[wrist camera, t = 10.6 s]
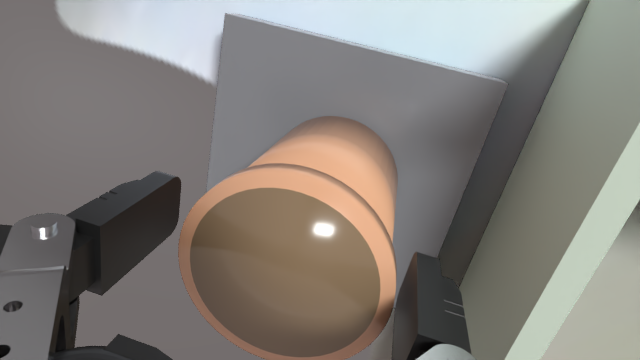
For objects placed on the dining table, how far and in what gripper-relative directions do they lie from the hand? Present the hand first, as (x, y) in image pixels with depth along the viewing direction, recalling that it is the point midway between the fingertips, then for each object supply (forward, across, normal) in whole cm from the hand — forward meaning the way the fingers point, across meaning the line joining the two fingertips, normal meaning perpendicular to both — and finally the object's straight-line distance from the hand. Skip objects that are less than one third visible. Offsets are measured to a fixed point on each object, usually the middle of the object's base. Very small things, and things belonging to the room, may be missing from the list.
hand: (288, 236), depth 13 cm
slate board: (+8, 0, 0) cm, 8 cm away
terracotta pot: (+6, 0, 0) cm, 6 cm away
